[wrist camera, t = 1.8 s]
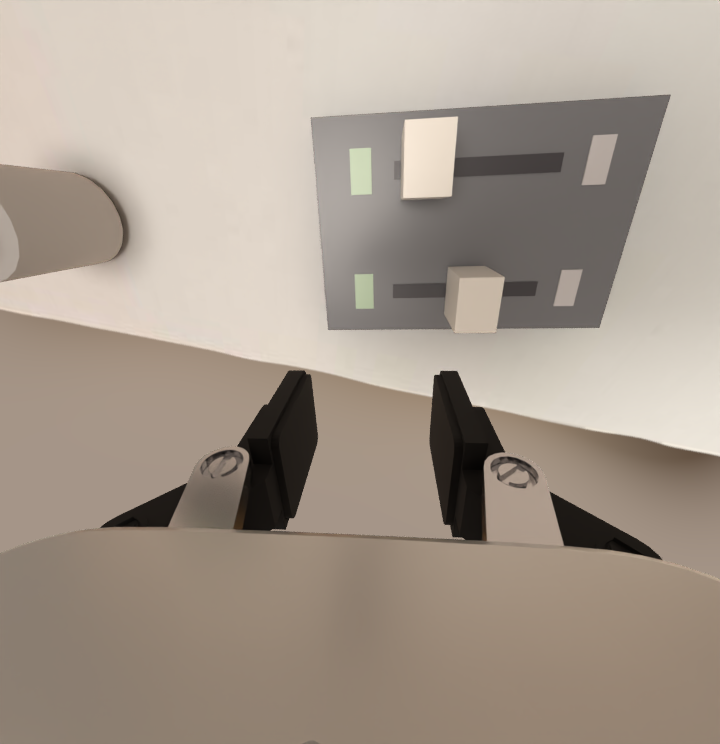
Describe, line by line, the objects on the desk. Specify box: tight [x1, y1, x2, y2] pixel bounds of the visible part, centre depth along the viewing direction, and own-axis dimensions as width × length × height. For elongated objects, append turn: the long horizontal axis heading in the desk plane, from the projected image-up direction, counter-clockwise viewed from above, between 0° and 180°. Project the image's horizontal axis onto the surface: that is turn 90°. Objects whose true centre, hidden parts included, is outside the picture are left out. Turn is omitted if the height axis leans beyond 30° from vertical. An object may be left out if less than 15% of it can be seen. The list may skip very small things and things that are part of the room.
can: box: [0, 164, 123, 282], centre depth 25 cm, size 8×8×12 cm
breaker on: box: [400, 117, 458, 200], centre depth 22 cm, size 3×4×5 cm
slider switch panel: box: [311, 95, 670, 330], centre depth 27 cm, size 24×16×3 cm, turn 92°
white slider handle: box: [444, 266, 505, 333], centre depth 25 cm, size 3×4×5 cm
